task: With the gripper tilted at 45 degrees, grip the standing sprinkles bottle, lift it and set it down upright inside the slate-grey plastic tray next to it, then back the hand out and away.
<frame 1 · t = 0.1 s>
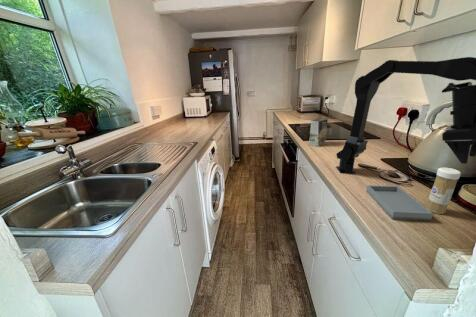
hand: (468, 159, 57), 15 cm above the worktop, tool pointing down, fingers open, 9 cm apart
tray: (394, 204, 64), on the worktop
sprinkles bottle: (434, 210, 61), on the worktop
coffee box: (316, 144, 129), on the worktop
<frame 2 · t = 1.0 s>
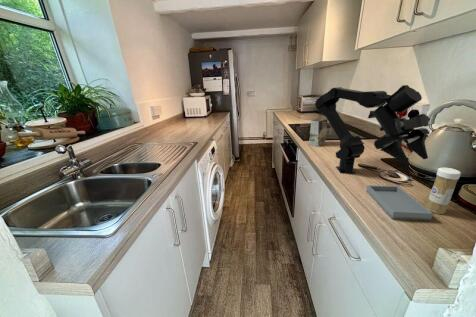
hand: (416, 161, 63), 13 cm above the worktop, tool tilted 45°, fingers open, 9 cm apart
nothing on the worktop moved.
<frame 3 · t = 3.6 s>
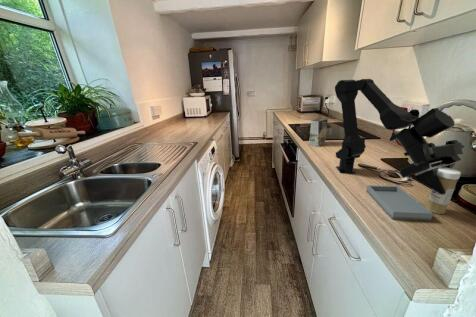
hand: (448, 192, 57), 7 cm above the worktop, tool tilted 45°, fingers closed on sprinkles bottle, 4 cm apart
sprinkles bottle: (434, 210, 60), on the worktop, touching gripper
everything else where it was.
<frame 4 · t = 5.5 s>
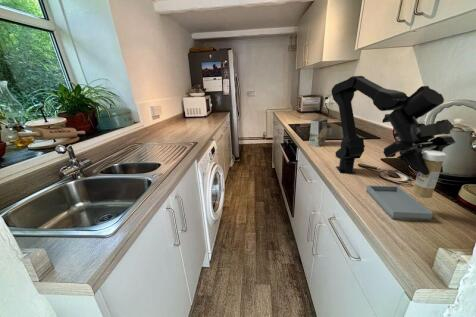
hand: (434, 173, 55), 13 cm above the worktop, tool tilted 45°, fingers closed on sprinkles bottle, 4 cm apart
sprinkles bottle: (421, 195, 59), point 5 cm above the worktop, touching gripper
everything else where it was.
when the fingers open (9 cm above the worktop, at t = 7.2 s): sprinkles bottle stays where it is, resting on tray.
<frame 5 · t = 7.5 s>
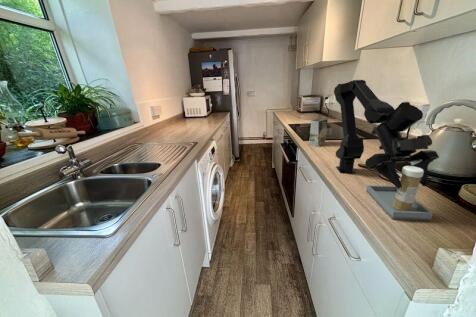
hand: (412, 186, 56), 9 cm above the worktop, tool tilted 45°, fingers open, 7 cm apart
sprinkles bottle: (401, 208, 61), point 1 cm above the worktop, touching tray
everything else where it was.
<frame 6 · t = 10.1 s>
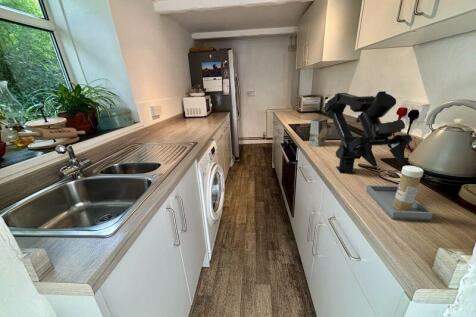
hand: (389, 165, 64), 12 cm above the worktop, tool tilted 45°, fingers open, 9 cm apart
nothing on the worktop moved.
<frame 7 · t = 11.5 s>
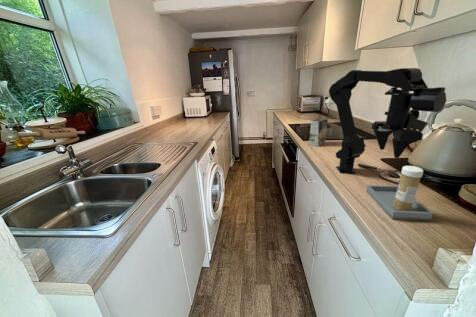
hand: (388, 153, 71), 13 cm above the worktop, tool pointing down, fingers open, 9 cm apart
nothing on the worktop moved.
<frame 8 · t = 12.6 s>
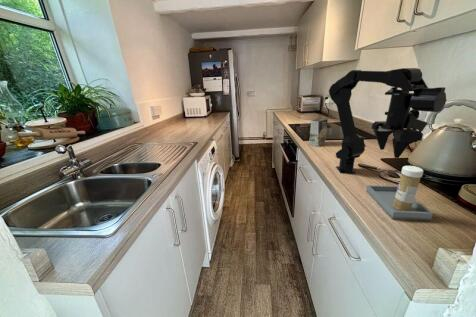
hand: (388, 153, 71), 13 cm above the worktop, tool pointing down, fingers open, 9 cm apart
nothing on the worktop moved.
at the end: sprinkles bottle inside the target area on the tray (3.5 cm from its centre), point 0.6 cm above the tray's base; sprinkles bottle tilted 0°; the gripper is holding nothing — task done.
